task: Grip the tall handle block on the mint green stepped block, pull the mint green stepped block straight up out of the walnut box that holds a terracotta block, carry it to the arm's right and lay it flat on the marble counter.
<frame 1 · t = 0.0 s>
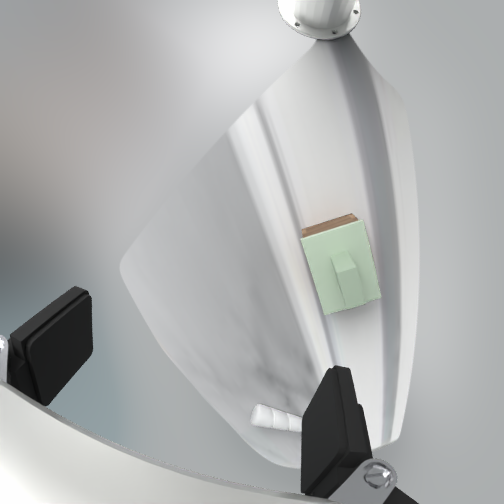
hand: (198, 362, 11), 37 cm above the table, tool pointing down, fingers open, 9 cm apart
unicorn horn: (302, 418, 59), on the table
mint green stepped block: (342, 268, 42), point 6 cm above the table, touching box
box: (336, 254, 47), on the table
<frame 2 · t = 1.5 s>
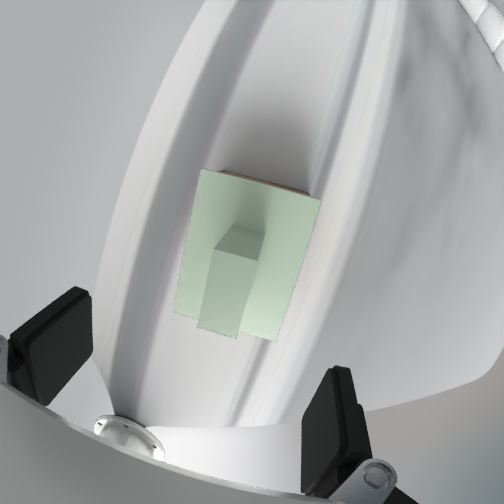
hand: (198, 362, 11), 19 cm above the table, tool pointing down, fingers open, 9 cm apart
mint green stepped block: (241, 258, 24), point 6 cm above the table, touching box
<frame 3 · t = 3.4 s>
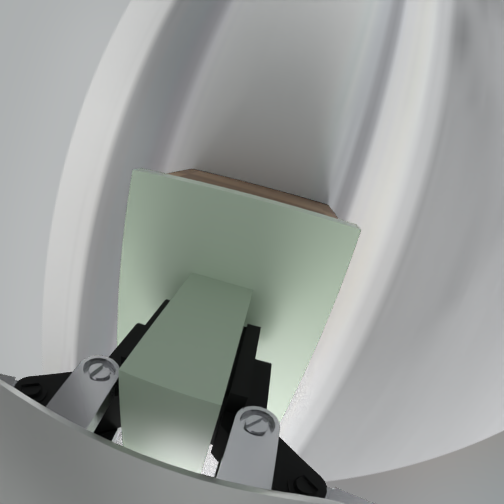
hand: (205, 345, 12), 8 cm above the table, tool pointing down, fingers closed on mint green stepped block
mint green stepped block: (214, 324, 13), point 6 cm above the table, touching box, gripper
box: (236, 274, 19), on the table
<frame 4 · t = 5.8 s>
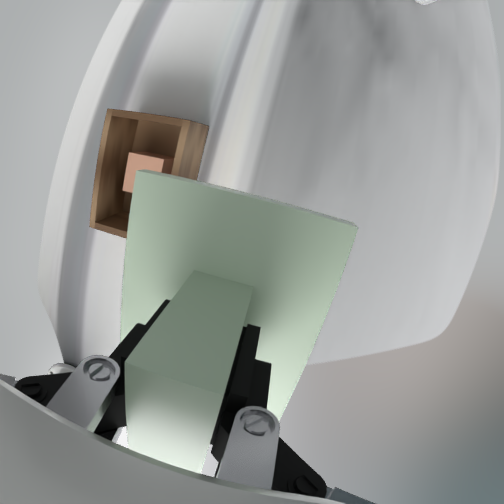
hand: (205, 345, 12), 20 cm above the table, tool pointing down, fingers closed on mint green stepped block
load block: (157, 172, 30), point 1 cm above the table, touching box
mint green stepped block: (216, 321, 14), point 18 cm above the table, touching gripper
box: (160, 171, 30), on the table
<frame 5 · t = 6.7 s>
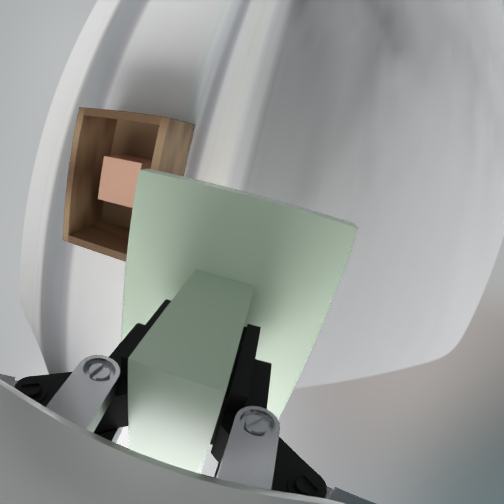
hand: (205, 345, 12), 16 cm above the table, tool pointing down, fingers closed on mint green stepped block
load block: (138, 177, 26), point 1 cm above the table, touching box
mint green stepped block: (216, 319, 14), point 14 cm above the table, touching gripper
box: (141, 177, 27), on the table
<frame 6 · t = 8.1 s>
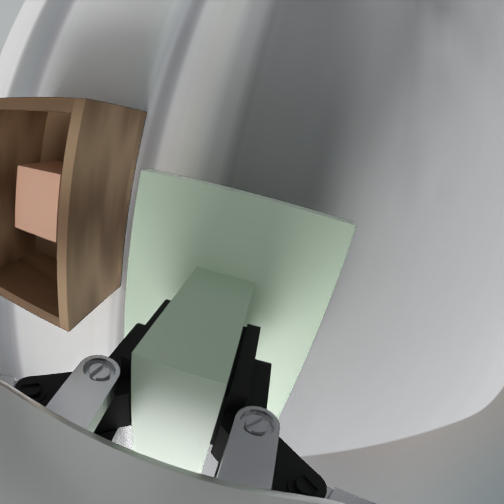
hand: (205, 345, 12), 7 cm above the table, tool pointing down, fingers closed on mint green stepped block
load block: (72, 192, 17), point 1 cm above the table, touching box
mint green stepped block: (217, 317, 14), point 4 cm above the table, touching gripper
box: (78, 191, 17), on the table
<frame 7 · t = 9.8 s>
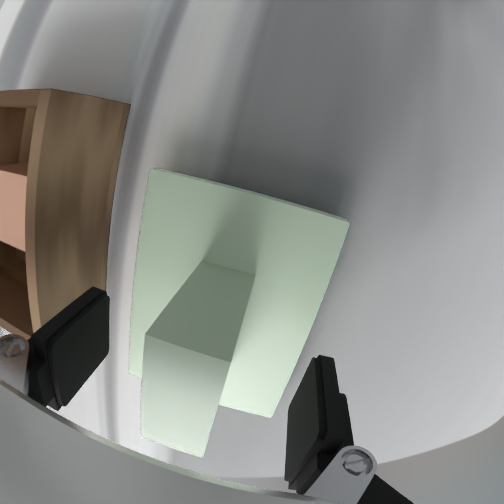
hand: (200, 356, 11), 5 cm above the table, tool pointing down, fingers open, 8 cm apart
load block: (51, 196, 15), point 1 cm above the table, touching box
mint green stepped block: (220, 308, 15), point 1 cm above the table
box: (58, 194, 15), on the table
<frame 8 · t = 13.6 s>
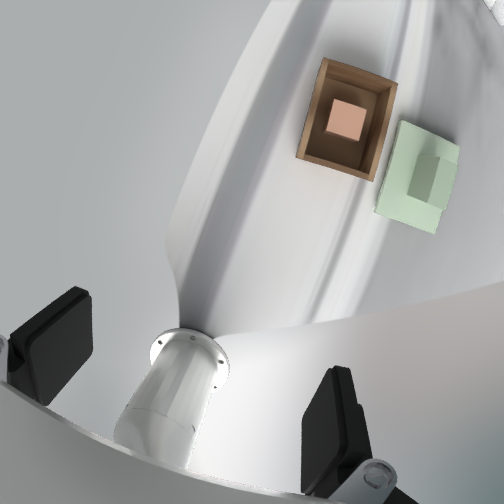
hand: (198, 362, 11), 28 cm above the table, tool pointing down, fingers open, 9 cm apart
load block: (341, 122, 33), point 1 cm above the table, touching box
mint green stepped block: (418, 177, 33), point 1 cm above the table
box: (340, 123, 33), on the table
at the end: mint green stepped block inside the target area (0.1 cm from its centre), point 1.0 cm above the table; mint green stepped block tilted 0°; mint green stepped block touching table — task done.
